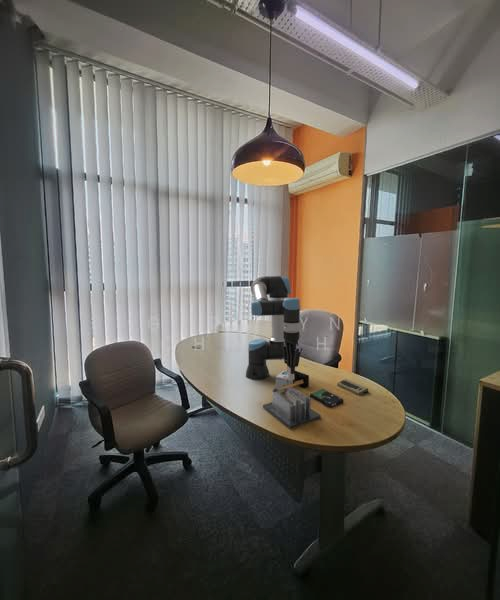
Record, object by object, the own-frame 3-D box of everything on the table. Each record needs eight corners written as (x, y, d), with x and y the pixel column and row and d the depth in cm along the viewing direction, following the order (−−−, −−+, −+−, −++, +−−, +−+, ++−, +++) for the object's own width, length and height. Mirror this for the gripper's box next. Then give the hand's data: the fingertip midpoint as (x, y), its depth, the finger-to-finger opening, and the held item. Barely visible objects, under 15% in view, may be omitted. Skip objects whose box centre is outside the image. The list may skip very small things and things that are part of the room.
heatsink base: (262, 407, 139) (262, 387, 138) (291, 399, 148) (291, 380, 147) (290, 429, 121) (290, 406, 119) (320, 418, 129) (321, 396, 128)
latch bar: (276, 391, 141) (275, 387, 141) (282, 389, 143) (281, 386, 143) (297, 385, 126) (295, 381, 126) (303, 383, 128) (302, 379, 128)
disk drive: (343, 404, 144) (322, 393, 156) (344, 399, 143) (323, 388, 156) (329, 409, 138) (309, 397, 151) (329, 404, 138) (309, 392, 151)
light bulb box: (282, 387, 163) (282, 370, 162) (293, 390, 160) (293, 372, 158) (275, 395, 153) (275, 376, 152) (286, 397, 150) (286, 378, 149)
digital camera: (289, 383, 169) (289, 372, 168) (294, 381, 172) (295, 370, 171) (302, 389, 161) (303, 377, 160) (308, 386, 164) (308, 375, 164)
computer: (336, 386, 165) (336, 380, 165) (346, 383, 169) (346, 378, 169) (358, 396, 152) (359, 390, 151) (368, 393, 156) (368, 387, 155)
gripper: (276, 329, 134) (276, 376, 136) (293, 334, 122) (293, 386, 125) (289, 327, 137) (288, 373, 140) (306, 332, 126) (306, 382, 129)
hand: (291, 379), depth 132 cm, fingers closed
